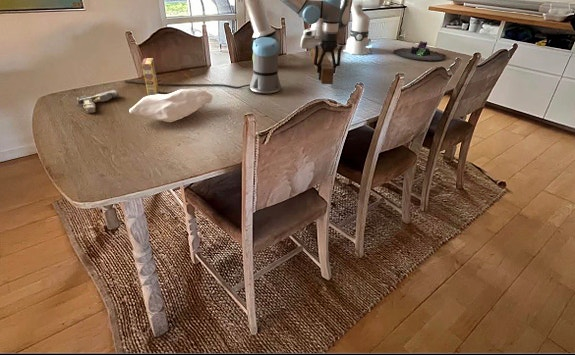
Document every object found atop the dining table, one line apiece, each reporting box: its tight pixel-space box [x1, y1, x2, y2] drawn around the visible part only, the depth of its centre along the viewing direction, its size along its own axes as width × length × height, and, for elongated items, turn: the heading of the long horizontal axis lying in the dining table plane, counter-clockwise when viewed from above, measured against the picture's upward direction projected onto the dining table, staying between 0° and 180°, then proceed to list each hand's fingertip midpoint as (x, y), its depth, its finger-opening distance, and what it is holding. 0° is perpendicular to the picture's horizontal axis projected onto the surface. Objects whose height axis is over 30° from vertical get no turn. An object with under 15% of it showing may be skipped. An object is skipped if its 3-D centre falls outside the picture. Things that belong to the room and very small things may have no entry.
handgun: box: [76, 89, 120, 114], centre depth 155 cm, size 3×18×15 cm
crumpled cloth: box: [129, 88, 214, 123], centre depth 147 cm, size 24×35×9 cm
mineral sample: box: [392, 40, 447, 61], centre depth 247 cm, size 35×35×9 cm
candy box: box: [141, 57, 160, 96], centre depth 163 cm, size 9×4×15 cm, turn 13°
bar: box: [310, 48, 335, 85], centre depth 202 cm, size 51×6×8 cm, turn 3°
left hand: (325, 79), depth 188 cm, fingers closed on bar, 6 cm apart
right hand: (316, 56), depth 219 cm, fingers closed on bar, 5 cm apart
